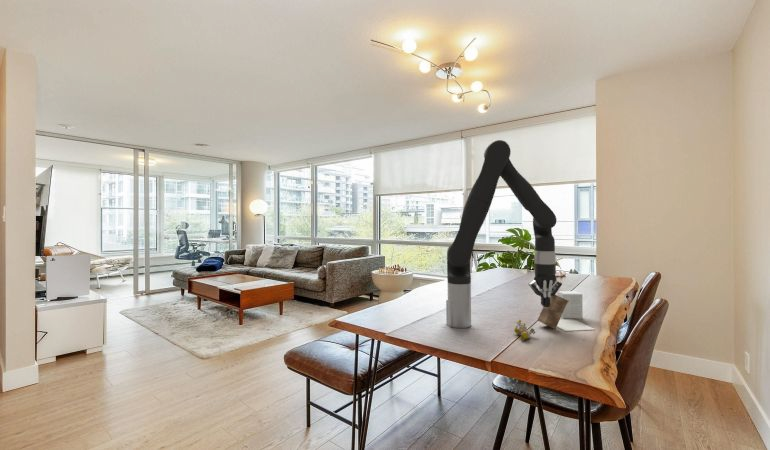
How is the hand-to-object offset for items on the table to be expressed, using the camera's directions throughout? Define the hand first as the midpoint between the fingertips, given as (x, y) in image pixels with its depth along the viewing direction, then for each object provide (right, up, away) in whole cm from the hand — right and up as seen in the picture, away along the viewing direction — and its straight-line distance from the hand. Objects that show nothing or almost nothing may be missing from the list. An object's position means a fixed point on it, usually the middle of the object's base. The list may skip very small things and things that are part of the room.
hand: (545, 306), depth 138 cm
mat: (+11, -8, +2) cm, 14 cm away
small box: (+17, -8, +14) cm, 23 cm away
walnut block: (0, -7, 0) cm, 7 cm away
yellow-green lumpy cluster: (-11, -9, -7) cm, 16 cm away
